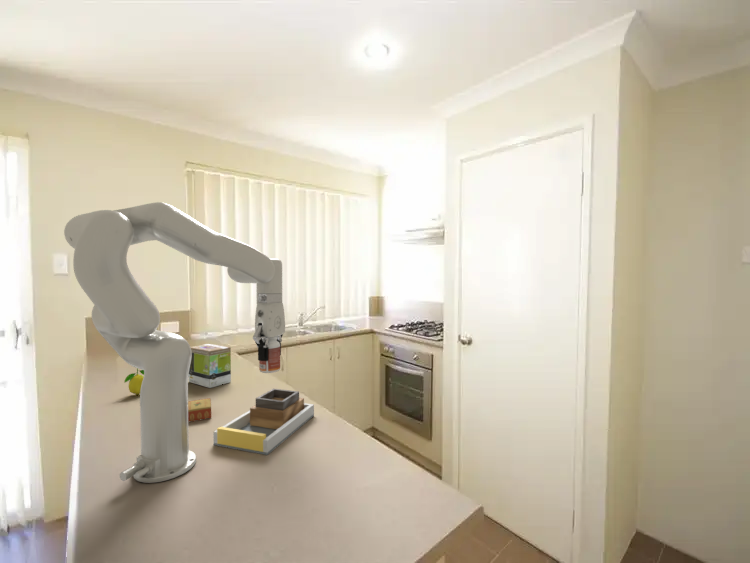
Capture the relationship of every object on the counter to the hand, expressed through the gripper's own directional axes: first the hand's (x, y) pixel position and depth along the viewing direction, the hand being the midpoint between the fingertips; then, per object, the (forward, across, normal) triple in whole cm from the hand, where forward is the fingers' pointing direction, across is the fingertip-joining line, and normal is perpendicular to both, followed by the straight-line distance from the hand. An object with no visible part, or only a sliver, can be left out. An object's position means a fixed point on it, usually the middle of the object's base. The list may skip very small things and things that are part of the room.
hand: (269, 357), depth 107 cm
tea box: (+20, +26, +44) cm, 55 cm away
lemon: (+20, +6, +59) cm, 62 cm away
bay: (+20, -5, -3) cm, 20 cm away
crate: (+19, 0, -3) cm, 19 cm away
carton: (+20, -6, +27) cm, 34 cm away
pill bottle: (+4, 0, 0) cm, 4 cm away
